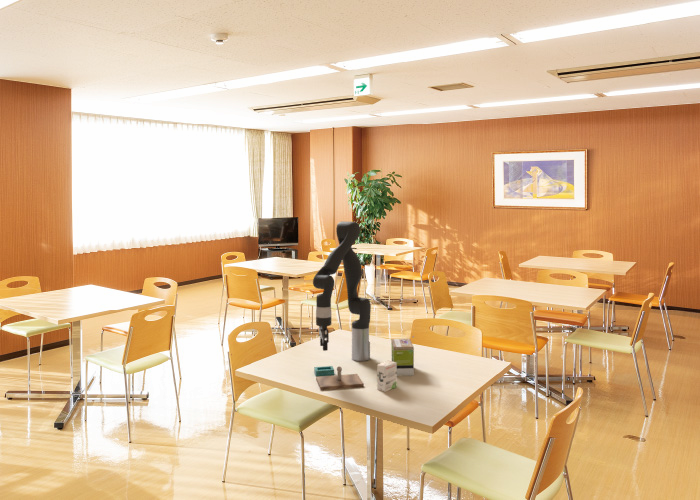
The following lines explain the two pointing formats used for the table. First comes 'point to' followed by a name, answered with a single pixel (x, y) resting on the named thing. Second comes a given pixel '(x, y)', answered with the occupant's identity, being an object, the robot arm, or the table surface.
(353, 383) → the plate
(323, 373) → the teal open frame
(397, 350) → the tea box
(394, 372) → the ink box
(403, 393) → the table surface
